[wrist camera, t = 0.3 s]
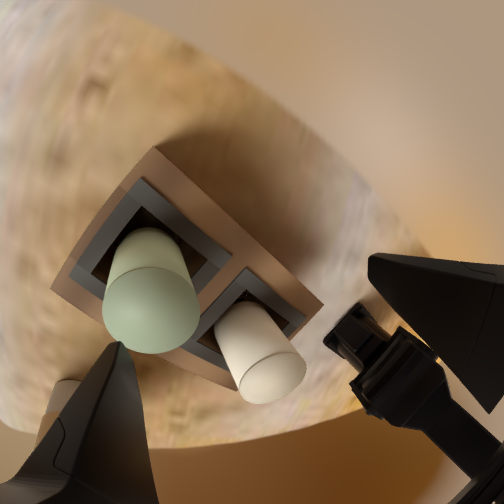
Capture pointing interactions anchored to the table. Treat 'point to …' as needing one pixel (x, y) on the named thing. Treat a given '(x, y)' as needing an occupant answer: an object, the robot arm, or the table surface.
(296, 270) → the table surface
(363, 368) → the robot arm
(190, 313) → the sage peg
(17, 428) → the table surface
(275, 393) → the cream peg
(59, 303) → the table surface
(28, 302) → the table surface
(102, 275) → the walnut block
